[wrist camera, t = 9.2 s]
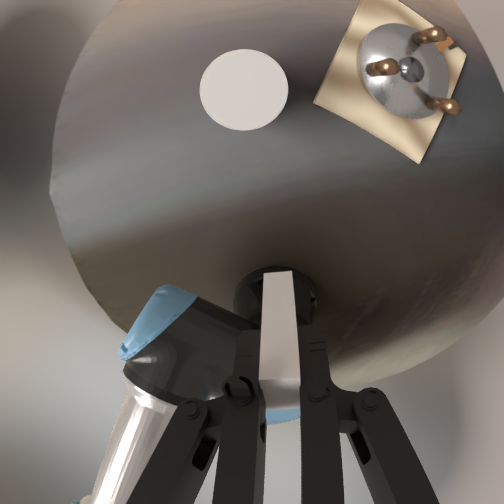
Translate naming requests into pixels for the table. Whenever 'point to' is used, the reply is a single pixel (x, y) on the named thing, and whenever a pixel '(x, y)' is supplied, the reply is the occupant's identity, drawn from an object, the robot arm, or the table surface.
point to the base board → (356, 97)
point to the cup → (244, 89)
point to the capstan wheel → (406, 70)
